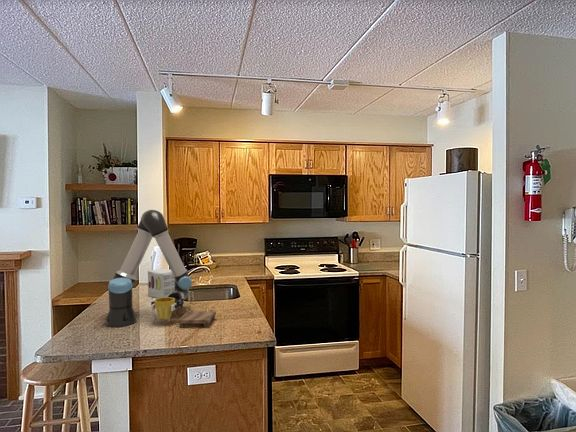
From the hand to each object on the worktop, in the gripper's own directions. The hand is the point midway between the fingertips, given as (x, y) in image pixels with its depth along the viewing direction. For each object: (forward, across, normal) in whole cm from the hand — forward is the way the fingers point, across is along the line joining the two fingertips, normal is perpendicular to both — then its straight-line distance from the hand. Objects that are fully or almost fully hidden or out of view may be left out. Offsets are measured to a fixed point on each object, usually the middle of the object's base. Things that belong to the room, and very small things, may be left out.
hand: (161, 308), depth 200 cm
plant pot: (-4, 0, -6) cm, 8 cm away
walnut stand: (-4, -18, -9) cm, 20 cm away
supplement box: (-65, +23, -9) cm, 70 cm away
